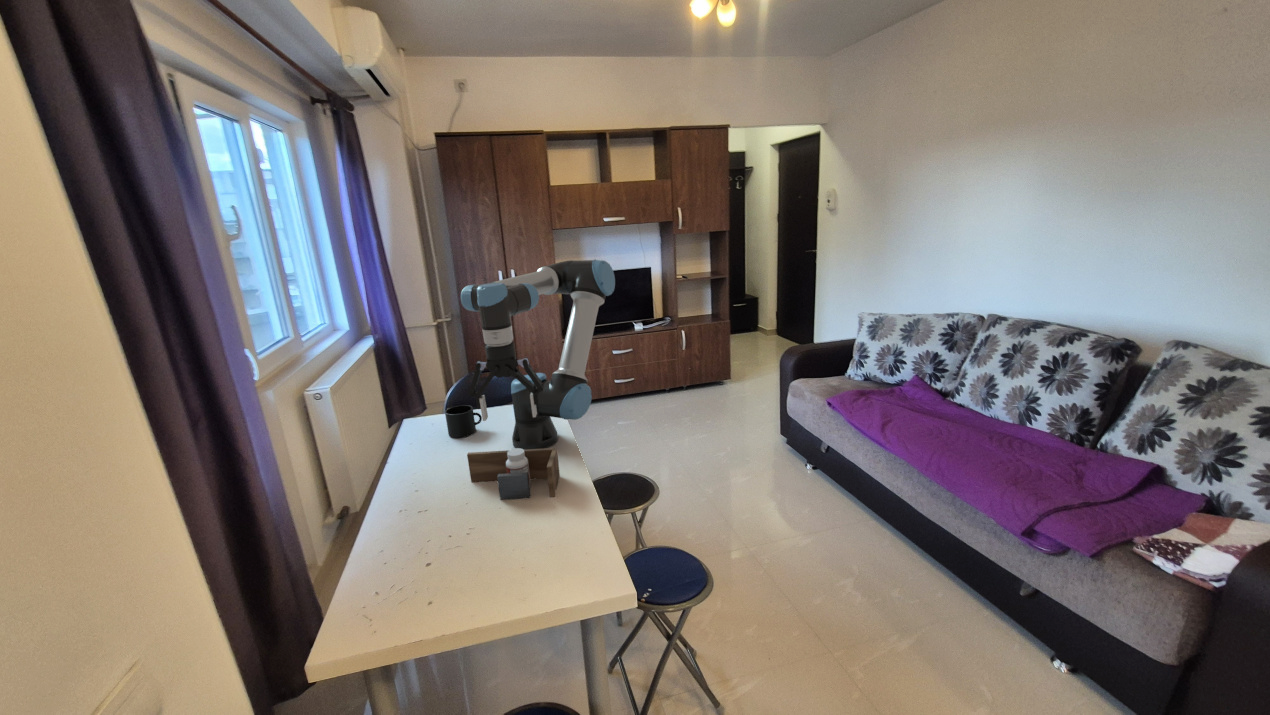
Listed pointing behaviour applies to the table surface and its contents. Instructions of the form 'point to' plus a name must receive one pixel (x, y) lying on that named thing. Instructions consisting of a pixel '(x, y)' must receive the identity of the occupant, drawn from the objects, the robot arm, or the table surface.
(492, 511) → the table surface
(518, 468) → the pill bottle
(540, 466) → the wooden corner wall
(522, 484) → the dark rectangular block
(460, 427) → the mug
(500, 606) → the table surface
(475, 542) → the table surface
